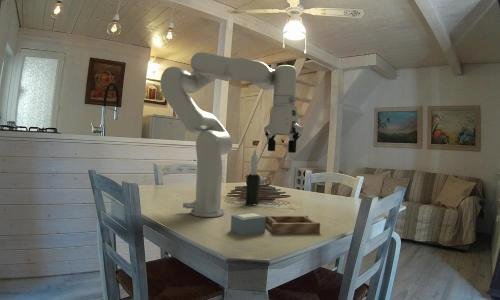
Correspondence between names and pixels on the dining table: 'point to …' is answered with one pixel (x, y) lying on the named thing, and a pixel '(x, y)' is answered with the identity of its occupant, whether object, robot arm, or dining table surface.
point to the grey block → (248, 223)
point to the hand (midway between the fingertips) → (281, 151)
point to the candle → (253, 182)
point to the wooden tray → (291, 224)
